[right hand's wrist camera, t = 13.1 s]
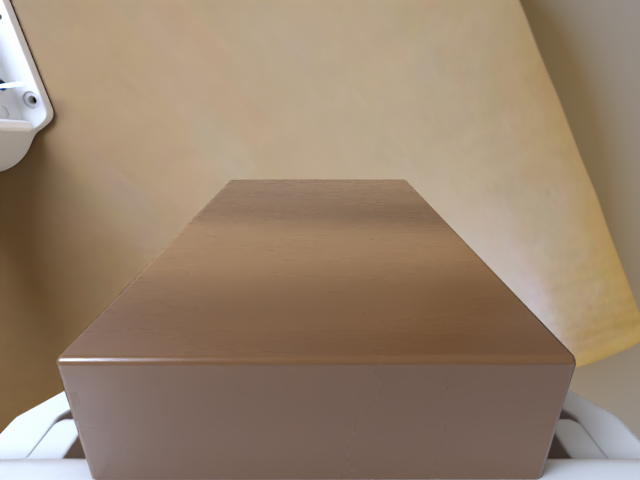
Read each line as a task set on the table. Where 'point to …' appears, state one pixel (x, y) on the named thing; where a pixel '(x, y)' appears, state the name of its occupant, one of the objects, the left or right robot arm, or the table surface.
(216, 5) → the table surface
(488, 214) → the table surface
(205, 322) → the box
